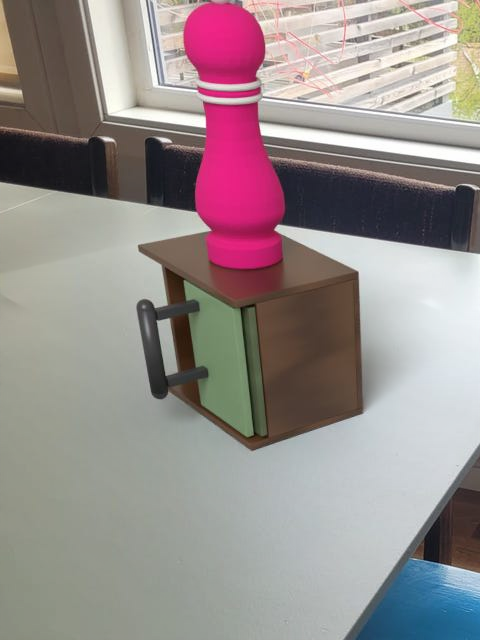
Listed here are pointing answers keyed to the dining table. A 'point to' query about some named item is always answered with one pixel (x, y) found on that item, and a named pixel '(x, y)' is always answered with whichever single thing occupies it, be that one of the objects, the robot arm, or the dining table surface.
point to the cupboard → (275, 334)
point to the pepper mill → (233, 139)
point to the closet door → (203, 354)
